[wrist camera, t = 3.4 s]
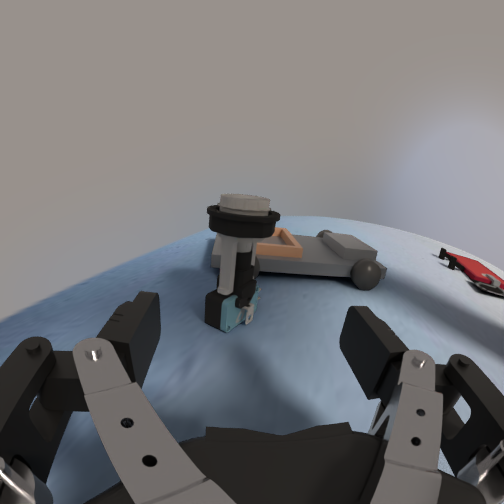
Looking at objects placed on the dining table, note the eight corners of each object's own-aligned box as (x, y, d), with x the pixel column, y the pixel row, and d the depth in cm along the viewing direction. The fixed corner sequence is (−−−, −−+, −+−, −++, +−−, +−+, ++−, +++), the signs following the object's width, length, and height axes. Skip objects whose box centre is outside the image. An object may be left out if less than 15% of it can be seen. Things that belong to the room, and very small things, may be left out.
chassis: (341, 251, 48) (345, 229, 46) (387, 291, 31) (395, 261, 30) (217, 240, 46) (219, 216, 44) (209, 280, 29) (211, 245, 28)
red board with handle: (471, 292, 33) (525, 307, 28) (476, 276, 32) (531, 293, 27) (432, 253, 60) (476, 265, 55) (435, 243, 59) (478, 256, 54)
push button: (233, 293, 27) (243, 191, 24) (282, 311, 24) (299, 200, 22) (188, 319, 21) (193, 193, 18) (243, 345, 19) (259, 203, 16)
